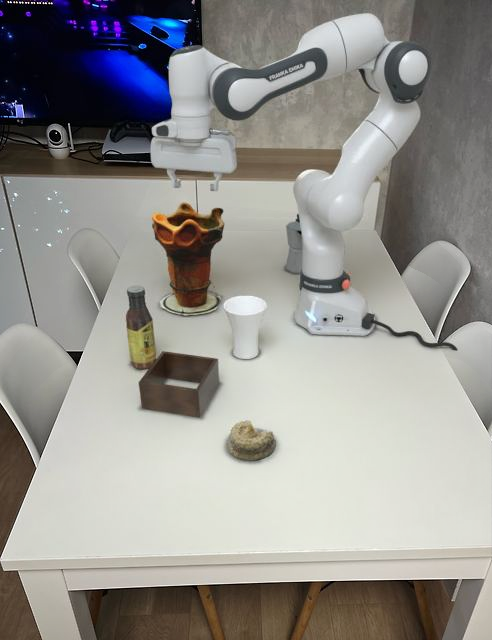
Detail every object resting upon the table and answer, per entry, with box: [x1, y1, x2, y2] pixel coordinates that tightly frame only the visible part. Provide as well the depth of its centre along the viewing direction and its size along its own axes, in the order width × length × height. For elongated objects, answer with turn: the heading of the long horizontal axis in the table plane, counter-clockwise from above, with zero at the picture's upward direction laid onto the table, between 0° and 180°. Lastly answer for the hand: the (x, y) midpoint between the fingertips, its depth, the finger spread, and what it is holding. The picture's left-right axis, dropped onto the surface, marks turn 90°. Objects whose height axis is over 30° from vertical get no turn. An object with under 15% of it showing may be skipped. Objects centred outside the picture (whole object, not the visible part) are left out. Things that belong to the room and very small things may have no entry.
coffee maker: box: [285, 213, 303, 275], centre depth 196 cm, size 15×9×18 cm, turn 179°
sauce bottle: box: [125, 285, 157, 370], centre depth 145 cm, size 7×6×20 cm
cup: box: [223, 295, 268, 360], centre depth 151 cm, size 10×10×14 cm
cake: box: [226, 419, 277, 462], centre depth 123 cm, size 10×10×5 cm
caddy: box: [138, 350, 220, 418], centre depth 137 cm, size 14×14×7 cm
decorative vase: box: [151, 201, 225, 317], centre depth 171 cm, size 21×23×28 cm
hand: (195, 189), depth 146 cm, fingers open, 8 cm apart
